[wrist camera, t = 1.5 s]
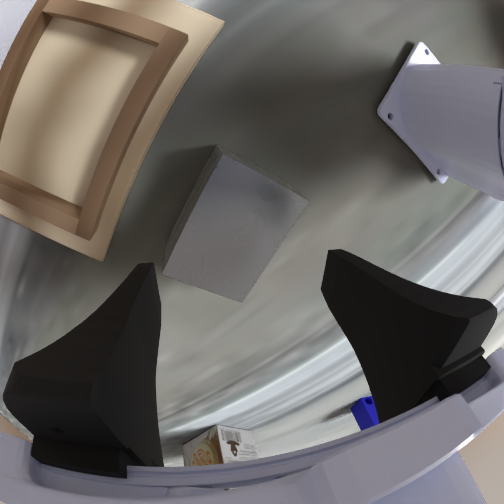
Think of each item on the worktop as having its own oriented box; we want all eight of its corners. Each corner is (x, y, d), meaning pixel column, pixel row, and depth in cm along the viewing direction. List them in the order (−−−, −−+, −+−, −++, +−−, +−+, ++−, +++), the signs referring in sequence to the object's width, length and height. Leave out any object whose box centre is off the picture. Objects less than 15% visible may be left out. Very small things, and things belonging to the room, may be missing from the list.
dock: (222, 27, 12) (228, 13, 10) (106, 253, 17) (96, 274, 15) (65, -20, 7) (50, -33, 5) (-20, 192, 12) (-40, 205, 10)
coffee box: (216, 450, 36) (234, 537, 22) (180, 444, 33) (194, 539, 19) (253, 429, 33) (281, 529, 20) (215, 423, 30) (238, 536, 17)
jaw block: (285, 181, 18) (308, 201, 14) (232, 267, 20) (242, 302, 16) (216, 144, 16) (223, 154, 12) (166, 241, 18) (162, 274, 14)
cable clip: (412, 381, 39) (428, 406, 34) (397, 397, 41) (412, 421, 35) (365, 391, 35) (382, 422, 30) (349, 407, 37) (364, 437, 32)
